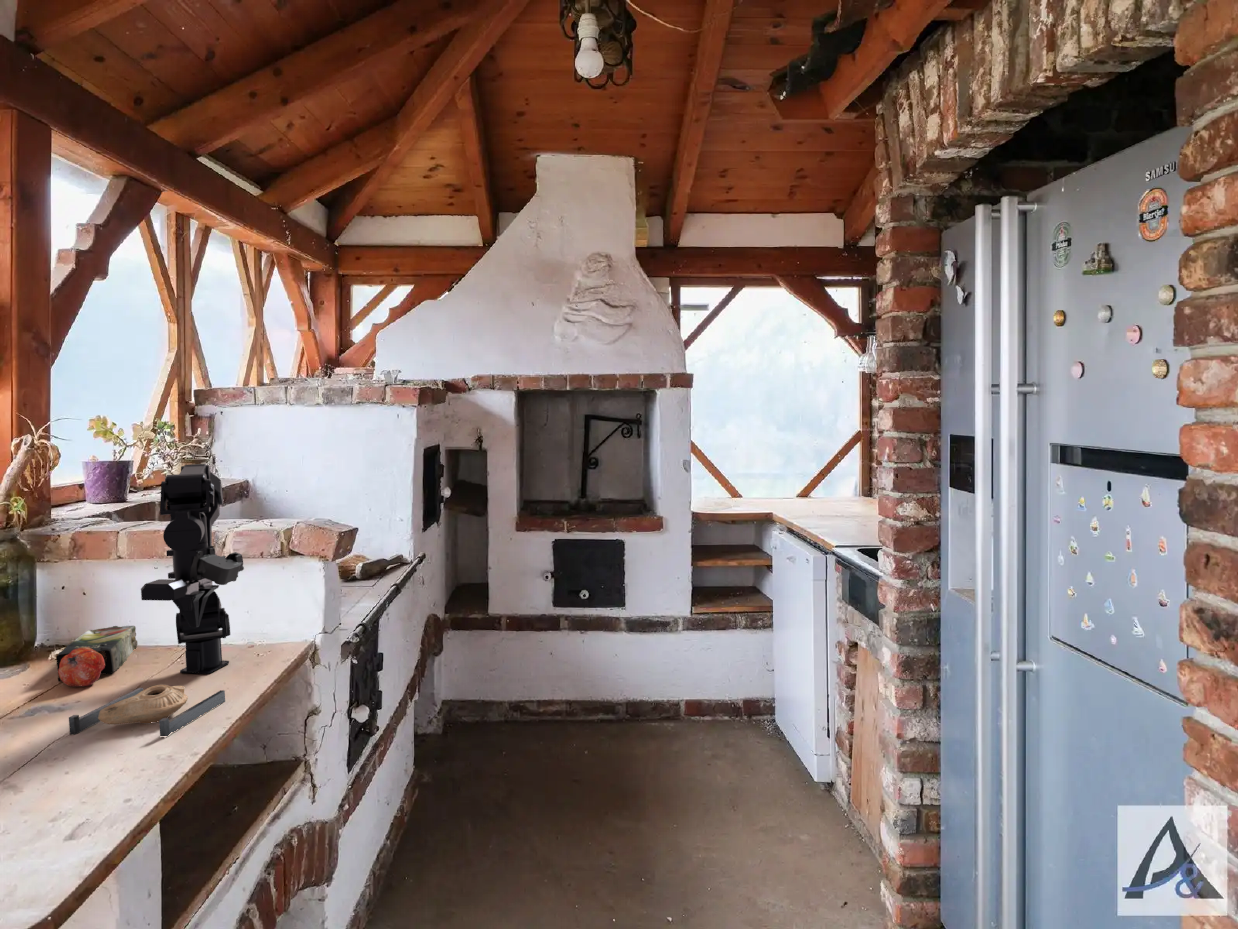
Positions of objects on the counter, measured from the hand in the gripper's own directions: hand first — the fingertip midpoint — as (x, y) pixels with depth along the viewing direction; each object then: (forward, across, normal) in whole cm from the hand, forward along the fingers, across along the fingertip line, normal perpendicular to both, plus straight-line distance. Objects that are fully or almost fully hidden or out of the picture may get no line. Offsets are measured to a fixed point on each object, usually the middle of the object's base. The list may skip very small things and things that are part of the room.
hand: (195, 627), depth 140 cm
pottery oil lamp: (+12, -14, 0) cm, 18 cm away
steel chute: (+12, -12, 0) cm, 17 cm away
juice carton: (+13, +13, +31) cm, 36 cm away
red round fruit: (+12, +2, +25) cm, 28 cm away
